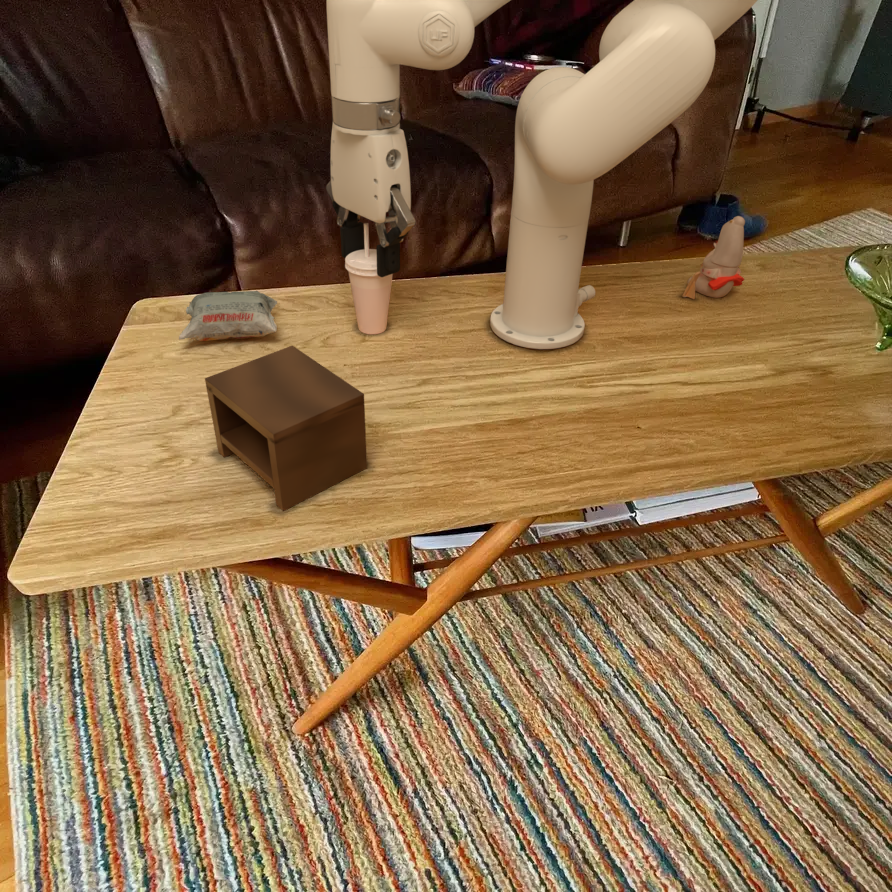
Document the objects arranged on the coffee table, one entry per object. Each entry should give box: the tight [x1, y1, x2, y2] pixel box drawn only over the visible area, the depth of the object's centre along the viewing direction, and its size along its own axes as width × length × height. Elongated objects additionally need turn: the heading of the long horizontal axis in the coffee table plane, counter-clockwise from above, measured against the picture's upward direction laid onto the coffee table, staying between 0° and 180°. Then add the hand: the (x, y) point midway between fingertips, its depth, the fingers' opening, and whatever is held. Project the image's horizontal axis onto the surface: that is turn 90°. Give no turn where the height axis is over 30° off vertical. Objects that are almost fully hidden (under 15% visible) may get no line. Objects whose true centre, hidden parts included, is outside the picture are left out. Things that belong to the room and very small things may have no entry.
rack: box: [204, 345, 368, 512], centre depth 75 cm, size 10×12×9 cm
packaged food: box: [178, 290, 278, 342], centre depth 97 cm, size 9×12×5 cm
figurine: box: [681, 215, 746, 300], centre depth 109 cm, size 9×7×12 cm
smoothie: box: [344, 222, 394, 335], centre depth 97 cm, size 6×6×14 cm
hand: (370, 263), depth 95 cm, fingers closed on smoothie, 6 cm apart
